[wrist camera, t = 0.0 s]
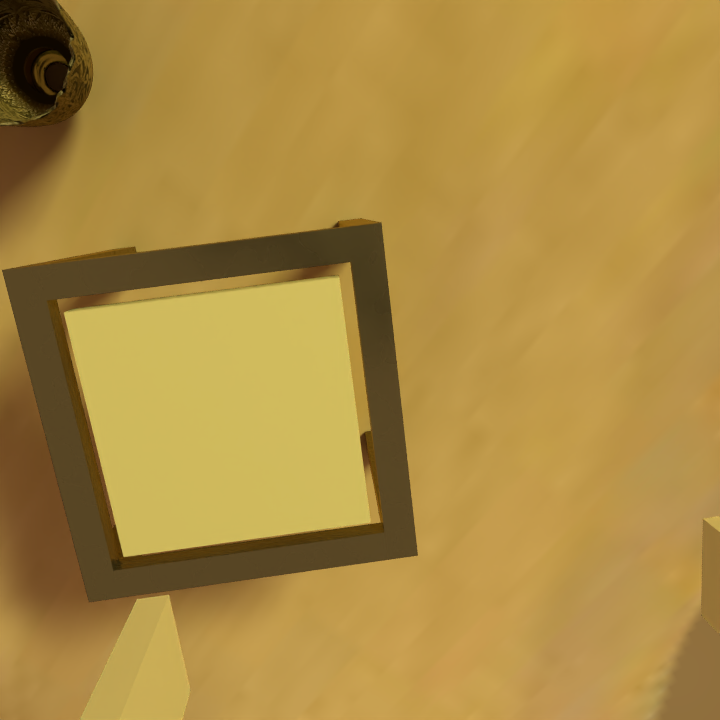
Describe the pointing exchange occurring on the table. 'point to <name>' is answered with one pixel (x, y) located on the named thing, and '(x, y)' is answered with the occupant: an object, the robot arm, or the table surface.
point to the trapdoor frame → (73, 443)
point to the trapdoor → (223, 413)
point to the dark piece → (40, 63)
